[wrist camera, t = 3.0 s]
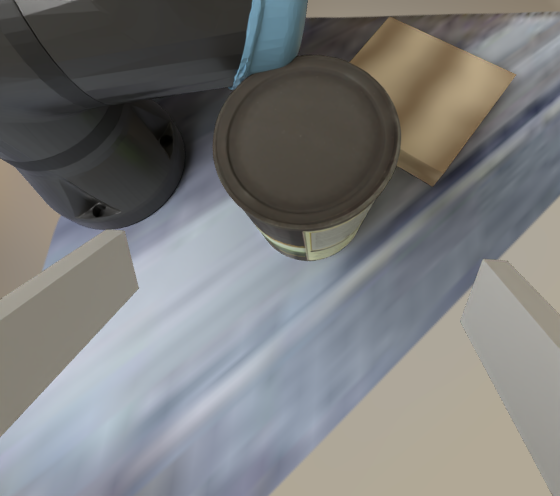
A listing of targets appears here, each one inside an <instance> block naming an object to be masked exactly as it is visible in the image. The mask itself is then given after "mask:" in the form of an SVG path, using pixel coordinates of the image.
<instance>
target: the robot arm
mask: <svg viewBox="0 0 560 496" xmlns="http://www.w3.org/2000/svg"><path fill="white" fill-rule="evenodd" d="M307 3H308V0H0V159H2V160H4V161H6V162H7V163H9V164H11V165H13V166H14V167H15V168H16V169H17V170H18V171H19V172H20V173H21V174H22V176H23V177H24V178H25V179H26V180H27V181H28V182H29V183H30V185H31V186H32V187H33V188H34V189H35V190H36V192H37V193H38V194H39V195H40V196H41V197H42V198H43V200H44V201H45V202H46V203H47V204H48V205H49V206H50V207H51V208H52V209H53V210H55V211H56V212H57V213H59V214H60V215H62V216H64V217H66V218H67V219H69V220H71V221H73V222H75V223H77V224H80V225H82V226H85V227H88V228H92V229H101V230H105V231H103V232H102V233H100V234H99V235H97V236H96V237H94V238H93V239H91V240H90V241H88V242H87V243H85V244H84V245H82V246H81V247H79V248H78V249H76V250H75V251H73V252H71V253H70V254H68V255H67V256H65V257H64V258H62V259H61V260H59V261H58V262H56V263H55V264H53V265H52V266H50V267H49V268H47V269H46V270H44V271H43V272H41V273H40V274H38V275H37V276H35V277H33V278H32V279H31V280H29V281H27V282H26V283H25V284H23V285H22V286H20V287H19V288H17V289H15V290H14V291H12V292H11V293H9V294H8V295H6V296H5V297H3V298H1V299H0V437H1V436H2V435H3V434H4V433H5V432H6V431H7V429H8V428H9V427H10V426H11V425H12V424H13V423H14V422H15V421H16V420H17V419H18V418H19V417H20V416H21V414H22V413H23V412H24V411H25V410H26V409H27V408H28V407H29V406H30V405H31V404H32V403H33V402H34V400H35V399H36V398H37V397H38V396H39V395H40V394H41V393H42V392H43V391H44V390H45V389H46V388H47V387H48V385H49V384H50V383H51V382H52V381H53V380H54V379H55V378H56V377H57V376H58V375H59V374H60V373H61V372H62V370H63V369H64V368H65V367H66V366H67V365H68V364H69V363H70V362H71V361H72V360H73V359H74V358H75V356H76V355H77V354H78V353H79V352H80V351H81V350H82V349H83V348H84V347H85V346H86V345H87V344H88V343H89V341H90V340H91V339H92V338H93V337H94V336H95V335H96V334H97V333H98V332H99V331H100V330H101V329H102V327H103V326H104V325H105V324H106V323H107V322H108V321H109V320H110V319H111V318H112V317H113V316H114V315H115V314H116V312H117V311H118V310H119V309H120V308H121V307H122V306H123V305H124V304H125V303H126V302H127V301H128V300H129V299H130V297H131V296H132V295H133V294H134V293H135V292H136V291H137V290H138V289H139V287H138V283H137V279H136V275H135V271H134V267H133V263H132V259H131V255H130V251H129V247H128V243H127V239H126V234H125V231H121V230H108V229H117V228H122V227H126V226H129V225H132V224H134V223H136V222H139V221H141V220H143V219H144V218H146V217H148V216H149V215H151V214H152V213H153V212H155V211H156V210H157V209H158V208H160V207H161V206H162V205H163V204H164V203H165V202H166V200H167V199H168V198H169V197H170V196H171V194H172V193H173V191H174V190H175V188H176V186H177V185H178V183H179V180H180V178H181V175H182V172H183V169H184V163H185V147H184V142H183V139H182V136H181V134H180V132H179V130H178V129H177V127H176V125H175V124H174V122H173V121H172V119H171V118H170V116H169V115H168V113H167V112H166V111H165V110H164V109H163V108H162V107H161V106H160V105H159V104H157V103H156V102H155V101H153V100H152V99H154V98H161V97H167V96H173V95H180V94H186V93H193V92H199V91H205V90H212V89H218V88H224V87H228V88H229V89H230V90H235V89H236V88H237V86H238V85H239V84H240V83H241V82H242V81H243V80H245V79H246V78H247V77H248V76H250V75H251V74H254V73H259V72H264V71H268V70H273V69H277V68H281V67H284V66H286V65H287V64H289V63H290V62H291V61H292V60H293V59H294V58H295V57H296V56H297V54H298V52H299V49H300V45H301V41H302V37H303V32H304V26H305V19H306V11H307ZM460 322H461V324H462V326H463V328H464V330H465V332H466V334H467V336H468V337H469V339H470V341H471V343H472V345H473V347H474V349H475V351H476V352H477V354H478V356H479V358H480V360H481V362H482V364H483V366H484V367H485V369H486V371H487V373H488V375H489V377H490V379H491V381H492V382H493V384H494V386H495V388H496V390H497V392H498V394H499V396H500V398H501V399H502V401H503V403H504V405H505V407H506V409H507V411H508V413H509V415H510V416H511V418H512V420H513V422H514V424H515V426H516V428H517V429H518V431H519V433H520V435H521V437H522V439H523V441H524V443H525V445H526V447H527V449H528V450H529V452H530V454H531V456H532V458H533V460H534V462H535V463H536V465H537V467H538V469H539V471H540V473H541V475H542V477H543V479H544V480H545V482H546V484H547V486H548V488H549V490H550V492H551V494H552V496H560V315H559V313H558V312H557V311H556V310H555V309H554V308H553V307H552V306H551V305H550V304H549V303H548V302H547V301H546V300H545V299H544V298H543V297H542V296H541V295H540V294H539V293H538V292H537V291H536V290H535V289H534V288H533V287H532V286H531V285H530V284H529V283H528V282H527V281H526V280H525V278H524V277H523V276H522V275H521V274H519V272H518V271H517V270H516V269H515V268H514V267H513V266H512V265H511V264H510V263H509V262H508V261H503V260H491V259H483V260H482V263H481V266H480V268H479V271H478V274H477V277H476V279H475V282H474V285H473V287H472V290H471V293H470V296H469V299H468V301H467V304H466V306H465V309H464V312H463V315H462V317H461V320H460Z"/></svg>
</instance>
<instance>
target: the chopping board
mask: <svg viewBox="0 0 560 496" xmlns="http://www.w3.org/2000/svg"><path fill="white" fill-rule="evenodd" d="M349 63H351V64H354V65H355V66H357V67H359V68H361V69H363V70H364V71H366V72H367V73H369V74H370V75H371V76H372V77H373V78H374V79H376V80H377V81H378V82H379V83H380V84H381V86H382V87H383V88H384V89H385V90H386V92H387V93H388V95H389V96H390V98H391V100H392V102H393V104H394V106H395V108H396V111H397V114H398V117H399V121H400V126H401V148H400V155H399V159H398V162H397V166H398V167H400V168H402V169H403V170H405V171H407V172H409V173H410V174H412V175H414V176H415V177H417V178H419V179H420V180H422V181H424V182H425V183H427V184H429V185H431V186H432V187H433V186H434V185H435V184H436V182H437V181H438V180H439V179H440V177H441V176H442V175H443V174H444V172H445V171H446V169H447V168H448V167H449V165H450V164H451V163H452V161H453V160H454V159H455V157H456V156H457V155H458V153H459V152H460V150H461V149H462V148H463V146H464V145H465V144H466V142H467V141H468V140H469V138H470V137H471V136H472V134H473V133H474V131H475V130H476V129H477V127H478V126H479V125H480V123H481V122H482V121H483V119H484V118H485V117H486V115H487V114H488V112H489V111H490V110H491V108H492V107H493V106H494V104H495V103H496V102H497V100H498V99H499V98H500V96H501V95H502V94H503V92H504V91H505V89H506V88H507V87H508V85H509V84H510V83H511V81H512V80H513V79H514V77H515V76H516V74H514V73H512V72H509V71H507V70H505V69H503V68H501V67H499V66H496V65H494V64H492V63H490V62H488V61H485V60H483V59H481V58H479V57H477V56H475V55H472V54H470V53H468V52H466V51H464V50H461V49H459V48H457V47H455V46H453V45H451V44H448V43H446V42H444V41H442V40H440V39H438V38H435V37H433V36H431V35H429V34H427V33H424V32H422V31H420V30H418V29H416V28H414V27H411V26H409V25H407V24H405V23H403V22H400V21H398V20H396V19H394V18H392V17H389V18H388V19H387V20H386V21H385V22H384V24H383V25H382V26H381V27H380V28H379V29H378V30H377V32H376V33H375V34H374V35H373V36H372V37H371V38H370V40H369V41H368V42H367V43H366V44H365V45H364V46H363V48H362V49H361V50H360V51H359V52H358V53H357V54H356V56H355V57H354V58H353V59H352V60H351V61H350V62H349Z"/></svg>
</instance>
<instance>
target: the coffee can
mask: <svg viewBox="0 0 560 496" xmlns="http://www.w3.org/2000/svg"><path fill="white" fill-rule="evenodd" d="M400 148H401V126H400V121H399V117H398V114H397V111H396V108H395V106H394V104H393V102H392V100H391V98H390V96H389V95H388V93H387V92H386V90H385V89H384V88H383V87H382V86H381V84H380V83H379V82H378V81H377V80H376V79H374V78H373V77H372V76H371V75H370V74H369V73H367V72H366V71H364V70H363V69H361V68H359V67H357V66H355V65H354V64H351V63H349V62H347V61H344V60H342V59H338V58H335V57H330V56H323V55H301V56H296V57H295V58H294V59H293V60H292V61H291V62H290V63H289V64H287V65H286V66H284V67H281V68H277V69H273V70H268V71H264V72H259V73H254V74H251V75H250V76H248V77H247V78H246V79H245V80H243V81H242V82H241V83H240V84H239V85H238V86H237V88H236V89H235V90H234V91H233V92H232V93H231V95H230V96H229V97H228V99H227V100H226V102H225V103H224V105H223V107H222V108H221V111H220V113H219V115H218V118H217V121H216V124H215V129H214V135H213V159H214V164H215V168H216V171H217V174H218V177H219V179H220V181H221V183H222V185H223V186H224V188H225V190H226V191H227V193H228V194H229V195H230V197H231V198H232V199H233V200H234V202H235V203H236V204H237V205H238V206H239V207H241V208H242V209H243V210H244V211H245V213H246V214H247V215H248V216H249V217H250V219H251V220H252V221H253V223H254V224H255V225H256V227H257V228H258V230H259V231H260V232H261V233H262V235H263V236H264V237H265V238H266V240H267V241H268V242H269V244H270V245H271V246H272V247H273V248H274V249H276V250H277V251H278V252H280V253H281V254H283V255H285V256H287V257H290V258H293V259H297V260H302V261H316V260H321V259H324V258H327V257H330V256H332V255H334V254H336V253H338V252H339V251H341V250H342V249H343V248H344V247H346V246H347V245H348V244H349V243H350V241H351V240H352V239H353V238H354V236H355V235H356V233H357V231H358V229H359V227H360V225H361V223H362V221H363V220H364V218H365V217H366V215H367V213H368V211H369V209H370V208H371V206H372V204H373V203H374V201H375V199H376V198H377V197H378V196H379V195H380V194H381V193H382V191H383V190H384V188H385V187H386V185H387V184H388V182H389V181H390V179H391V177H392V175H393V173H394V171H395V168H396V166H397V162H398V159H399V155H400Z"/></svg>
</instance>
